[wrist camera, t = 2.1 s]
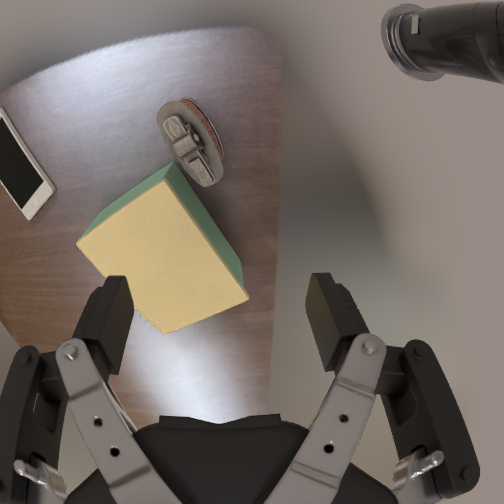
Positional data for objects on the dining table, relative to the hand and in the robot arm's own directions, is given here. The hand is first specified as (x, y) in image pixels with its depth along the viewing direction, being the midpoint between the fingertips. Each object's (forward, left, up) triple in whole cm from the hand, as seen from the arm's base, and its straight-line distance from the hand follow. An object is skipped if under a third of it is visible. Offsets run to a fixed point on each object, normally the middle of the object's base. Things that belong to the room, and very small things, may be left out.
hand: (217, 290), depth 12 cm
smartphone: (+23, -16, -21) cm, 35 cm away
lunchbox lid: (+10, +5, -14) cm, 18 cm away
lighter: (0, -4, -21) cm, 22 cm away
